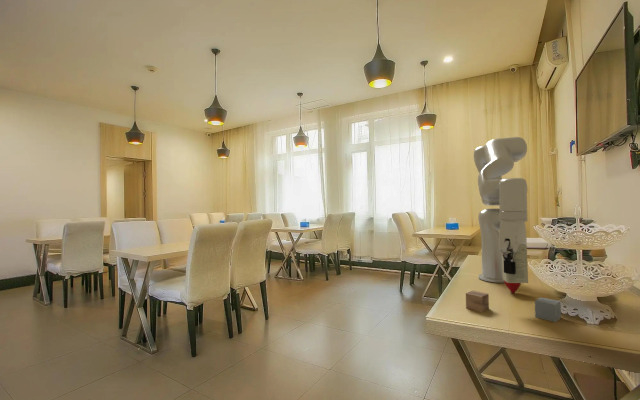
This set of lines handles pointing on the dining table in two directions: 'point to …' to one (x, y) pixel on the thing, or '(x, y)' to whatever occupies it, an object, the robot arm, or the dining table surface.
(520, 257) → the skincare box
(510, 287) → the strawberry
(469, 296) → the walnut block
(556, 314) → the slate block
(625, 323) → the dining table surface
